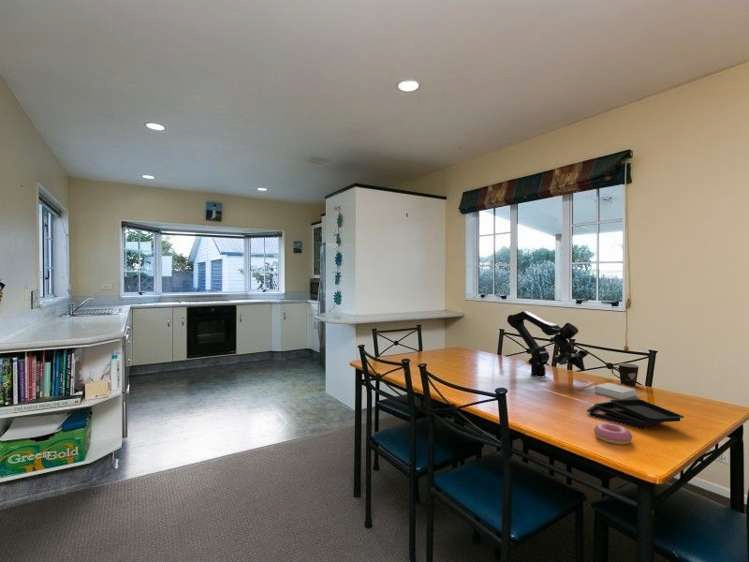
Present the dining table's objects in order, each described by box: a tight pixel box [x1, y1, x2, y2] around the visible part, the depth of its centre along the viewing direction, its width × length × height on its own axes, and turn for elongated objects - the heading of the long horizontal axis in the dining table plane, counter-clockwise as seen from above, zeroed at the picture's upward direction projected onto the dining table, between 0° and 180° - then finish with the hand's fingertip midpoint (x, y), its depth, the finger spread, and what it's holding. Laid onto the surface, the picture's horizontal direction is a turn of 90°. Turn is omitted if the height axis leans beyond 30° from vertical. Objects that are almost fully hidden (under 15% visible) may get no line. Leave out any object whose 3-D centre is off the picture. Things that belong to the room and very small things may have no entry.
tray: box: [586, 398, 685, 430], centre depth 144 cm, size 30×23×5 cm
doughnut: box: [593, 422, 633, 446], centre depth 126 cm, size 11×11×4 cm
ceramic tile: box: [594, 382, 637, 399], centre depth 172 cm, size 3×11×12 cm
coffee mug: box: [611, 362, 640, 387], centre depth 192 cm, size 12×9×10 cm
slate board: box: [582, 387, 643, 400], centre depth 173 cm, size 18×16×1 cm
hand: (583, 370), depth 185 cm, fingers closed
